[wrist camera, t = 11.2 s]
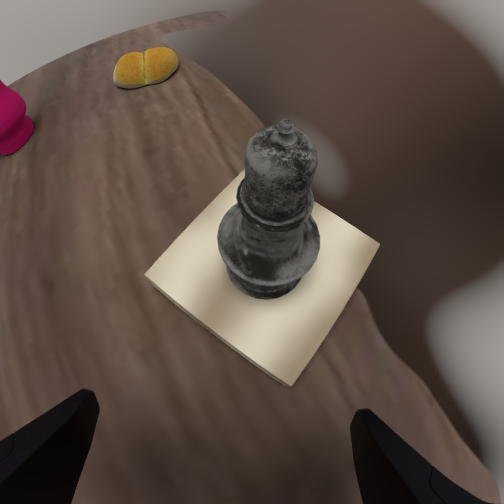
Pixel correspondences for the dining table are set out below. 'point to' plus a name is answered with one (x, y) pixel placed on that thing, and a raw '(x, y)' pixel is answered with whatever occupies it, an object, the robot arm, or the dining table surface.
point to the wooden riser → (260, 310)
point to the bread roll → (145, 67)
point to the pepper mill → (13, 121)
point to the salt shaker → (272, 215)
